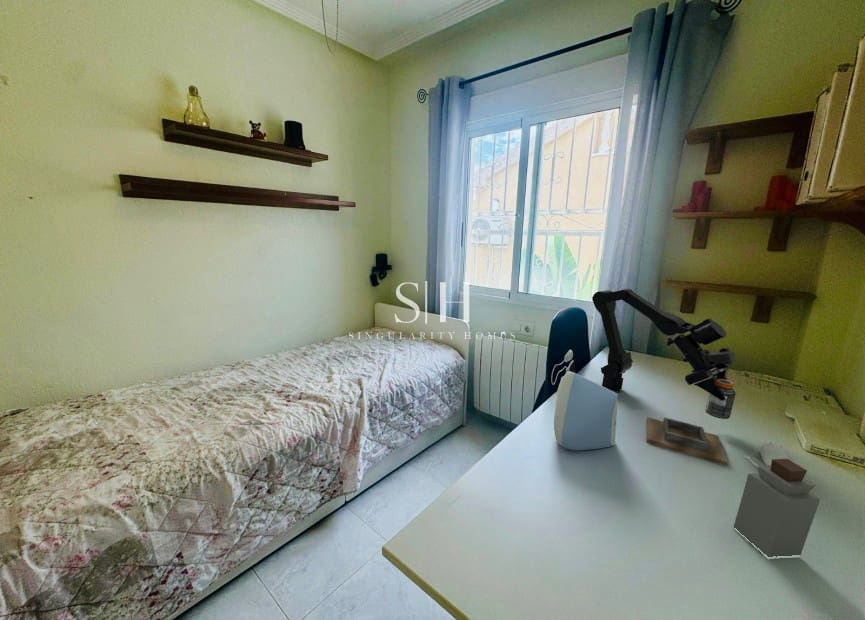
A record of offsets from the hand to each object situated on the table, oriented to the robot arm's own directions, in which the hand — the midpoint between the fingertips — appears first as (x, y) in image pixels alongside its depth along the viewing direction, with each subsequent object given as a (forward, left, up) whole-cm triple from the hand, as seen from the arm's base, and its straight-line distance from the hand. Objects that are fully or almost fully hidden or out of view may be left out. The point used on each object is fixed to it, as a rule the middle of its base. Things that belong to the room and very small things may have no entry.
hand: (727, 397), depth 100 cm
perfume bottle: (+1, -44, -12) cm, 46 cm away
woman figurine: (+9, -14, -12) cm, 21 cm away
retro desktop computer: (-36, -27, -12) cm, 46 cm away
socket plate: (-10, -12, -12) cm, 20 cm away
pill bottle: (-1, +1, -7) cm, 7 cm away
